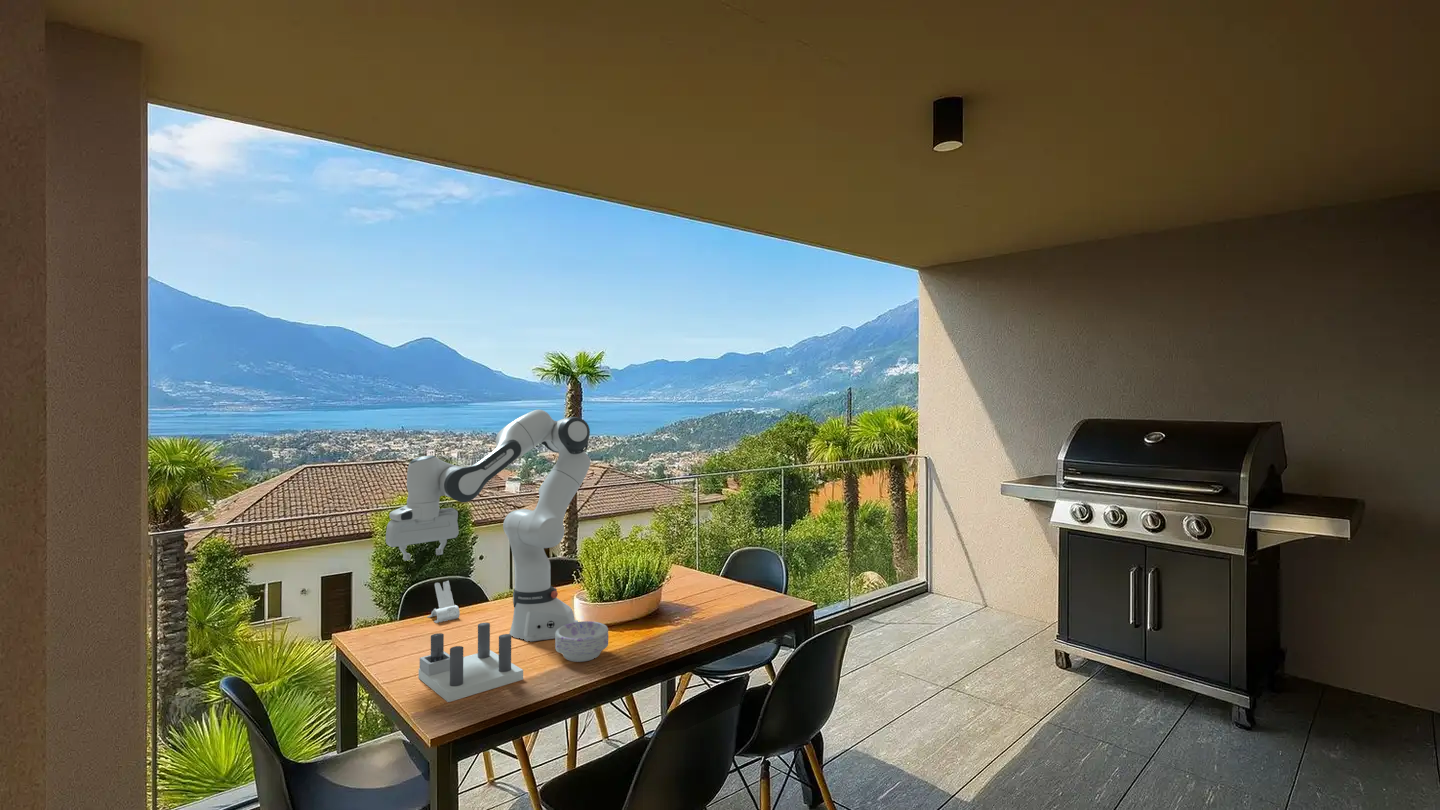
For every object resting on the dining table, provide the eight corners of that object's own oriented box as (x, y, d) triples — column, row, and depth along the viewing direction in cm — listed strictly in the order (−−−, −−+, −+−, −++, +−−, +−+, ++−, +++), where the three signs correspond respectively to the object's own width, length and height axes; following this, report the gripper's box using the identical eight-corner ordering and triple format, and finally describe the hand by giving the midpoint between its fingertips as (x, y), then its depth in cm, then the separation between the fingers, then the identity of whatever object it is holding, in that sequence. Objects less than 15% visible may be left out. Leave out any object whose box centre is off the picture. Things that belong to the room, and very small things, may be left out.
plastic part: (437, 624, 221) (437, 589, 221) (425, 617, 228) (426, 583, 228) (459, 619, 227) (459, 585, 227) (447, 612, 234) (447, 579, 234)
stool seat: (490, 658, 191) (490, 618, 191) (523, 679, 177) (523, 636, 177) (418, 678, 177) (418, 635, 177) (448, 702, 163) (448, 655, 163)
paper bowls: (560, 669, 183) (560, 641, 183) (551, 651, 197) (551, 624, 197) (614, 661, 189) (614, 633, 189) (601, 644, 203) (601, 618, 203)
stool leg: (444, 666, 179) (444, 633, 179) (442, 670, 176) (442, 637, 176) (432, 667, 179) (432, 633, 179) (429, 671, 176) (429, 637, 176)
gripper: (453, 505, 206) (453, 549, 206) (383, 513, 192) (383, 561, 192) (462, 507, 202) (462, 553, 202) (391, 516, 187) (391, 565, 187)
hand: (423, 557), depth 197 cm, fingers open, 8 cm apart
